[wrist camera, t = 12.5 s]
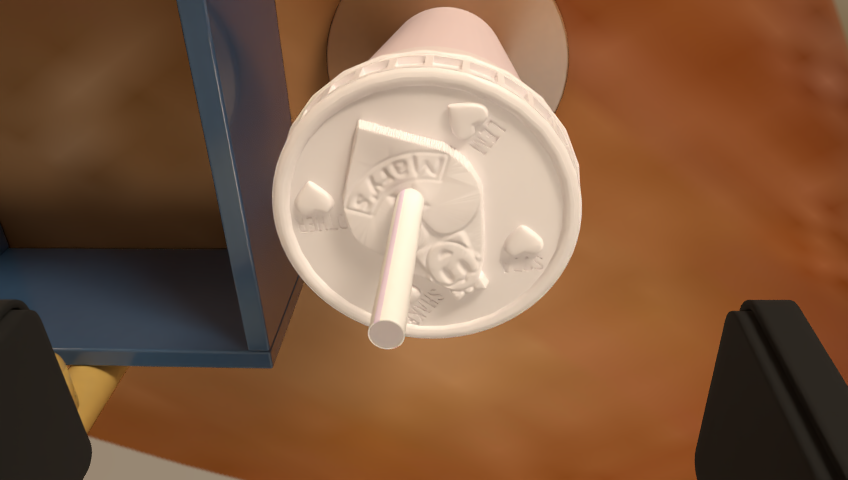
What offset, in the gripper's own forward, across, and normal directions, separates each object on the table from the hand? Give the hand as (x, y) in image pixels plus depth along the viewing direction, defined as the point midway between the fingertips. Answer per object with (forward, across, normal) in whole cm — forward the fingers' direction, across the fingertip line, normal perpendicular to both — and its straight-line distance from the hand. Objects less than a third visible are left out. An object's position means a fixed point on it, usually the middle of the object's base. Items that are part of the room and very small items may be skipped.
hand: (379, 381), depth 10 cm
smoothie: (+15, 0, +1) cm, 15 cm away
